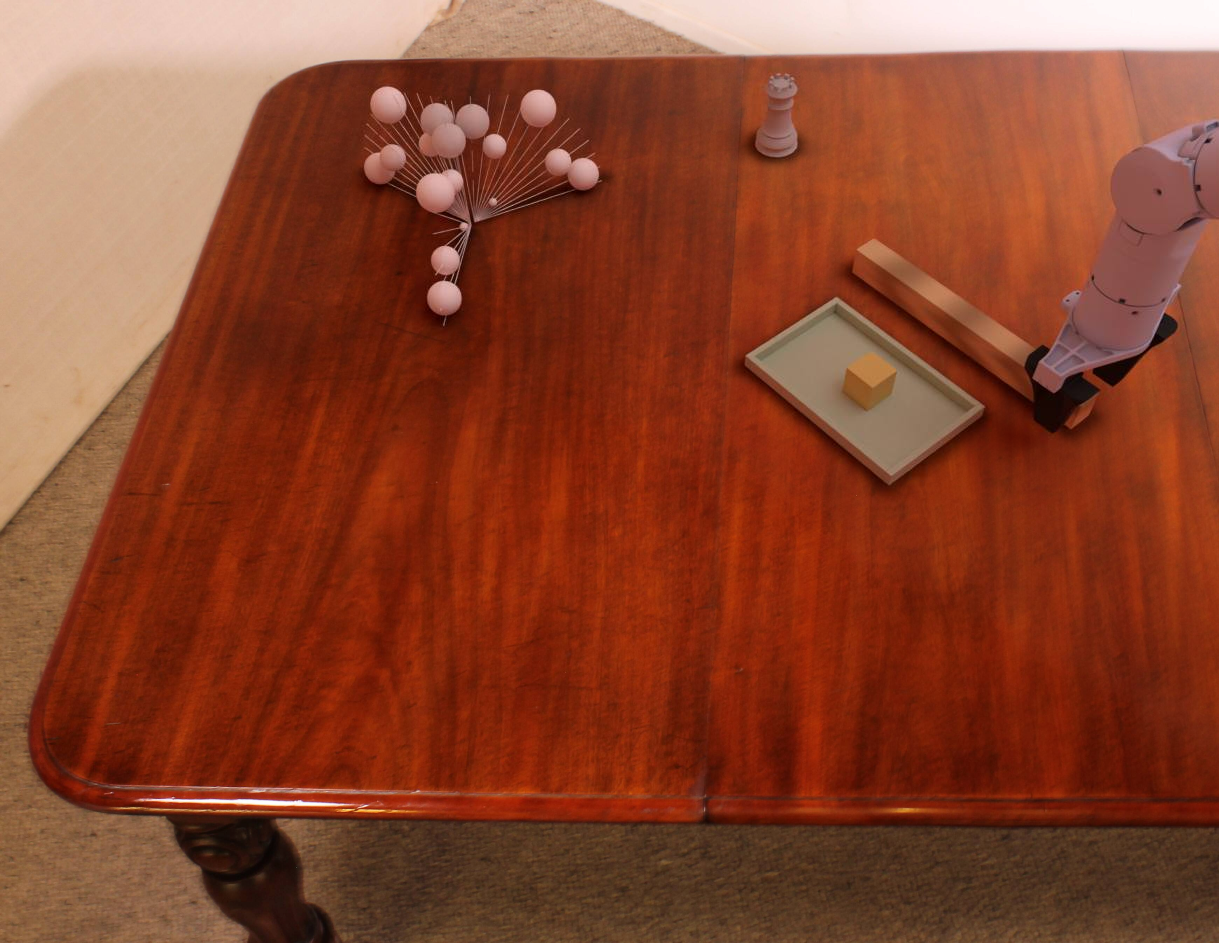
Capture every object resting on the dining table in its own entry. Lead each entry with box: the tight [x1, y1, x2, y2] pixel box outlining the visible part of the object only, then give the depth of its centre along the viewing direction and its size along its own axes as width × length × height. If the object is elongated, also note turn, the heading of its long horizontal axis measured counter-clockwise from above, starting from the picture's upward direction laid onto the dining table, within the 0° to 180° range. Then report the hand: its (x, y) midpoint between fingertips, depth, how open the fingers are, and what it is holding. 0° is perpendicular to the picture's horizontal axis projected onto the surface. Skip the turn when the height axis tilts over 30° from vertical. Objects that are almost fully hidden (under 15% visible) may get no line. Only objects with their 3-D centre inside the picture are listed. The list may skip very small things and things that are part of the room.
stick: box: [851, 238, 1100, 430], centre depth 95 cm, size 25×2×3 cm, turn 38°
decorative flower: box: [363, 86, 602, 327], centre depth 101 cm, size 25×22×14 cm
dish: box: [744, 296, 986, 486], centre depth 92 cm, size 17×11×2 cm, turn 38°
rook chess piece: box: [754, 72, 798, 159], centre depth 111 cm, size 4×4×8 cm
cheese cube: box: [842, 351, 897, 411], centre depth 91 cm, size 3×3×3 cm
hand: (1075, 401), depth 89 cm, fingers open, 7 cm apart
